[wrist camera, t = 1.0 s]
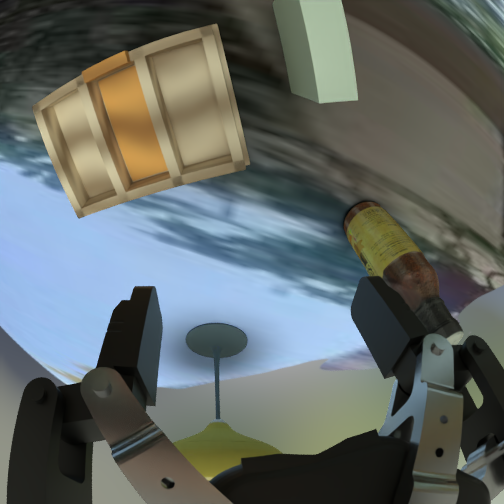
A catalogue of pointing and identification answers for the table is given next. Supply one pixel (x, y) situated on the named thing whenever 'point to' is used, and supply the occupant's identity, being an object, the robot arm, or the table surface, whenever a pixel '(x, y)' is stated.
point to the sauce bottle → (400, 266)
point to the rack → (144, 122)
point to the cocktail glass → (218, 431)
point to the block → (316, 49)
